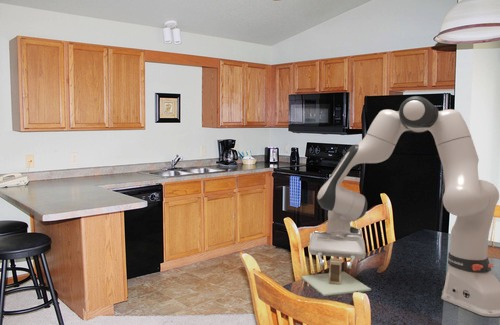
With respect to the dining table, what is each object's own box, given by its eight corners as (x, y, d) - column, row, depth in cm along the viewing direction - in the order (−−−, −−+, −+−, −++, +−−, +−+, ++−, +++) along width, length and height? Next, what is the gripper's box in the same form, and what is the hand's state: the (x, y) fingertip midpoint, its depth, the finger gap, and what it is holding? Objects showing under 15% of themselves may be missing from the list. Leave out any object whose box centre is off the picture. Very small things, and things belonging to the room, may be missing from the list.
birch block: (329, 279, 158) (330, 258, 157) (340, 280, 157) (341, 259, 156) (328, 283, 154) (329, 261, 153) (340, 285, 153) (341, 262, 152)
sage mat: (370, 290, 150) (370, 288, 150) (323, 296, 144) (323, 294, 144) (343, 273, 167) (344, 271, 167) (300, 277, 161) (300, 276, 161)
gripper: (309, 226, 164) (305, 259, 155) (366, 230, 158) (364, 265, 150) (310, 235, 168) (306, 267, 160) (365, 239, 163) (364, 273, 155)
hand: (335, 266), depth 155 cm, fingers open, 8 cm apart
